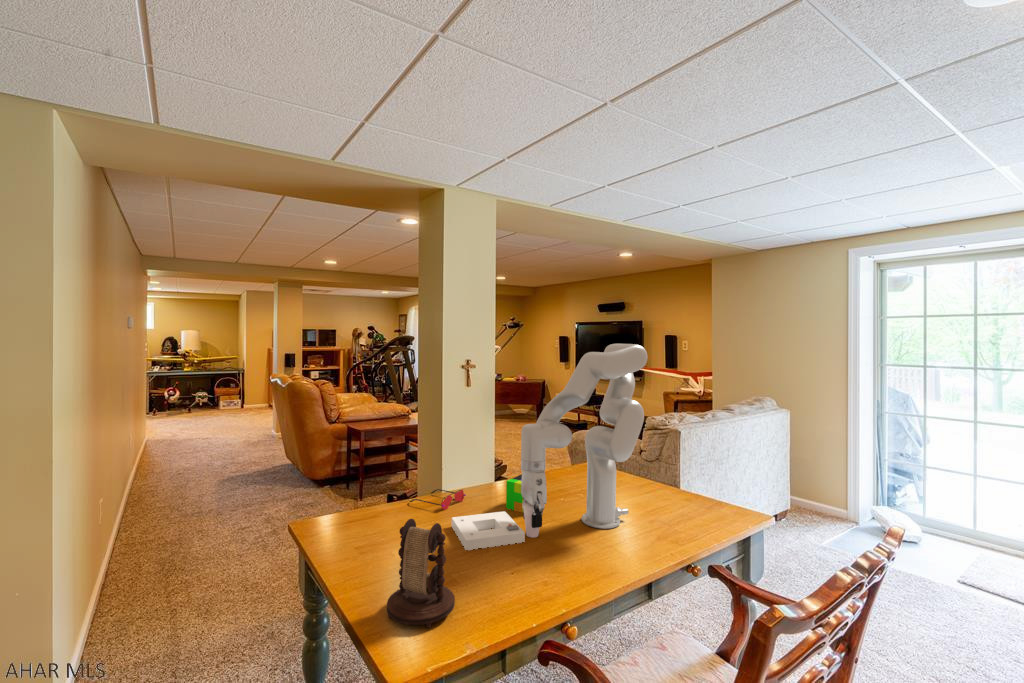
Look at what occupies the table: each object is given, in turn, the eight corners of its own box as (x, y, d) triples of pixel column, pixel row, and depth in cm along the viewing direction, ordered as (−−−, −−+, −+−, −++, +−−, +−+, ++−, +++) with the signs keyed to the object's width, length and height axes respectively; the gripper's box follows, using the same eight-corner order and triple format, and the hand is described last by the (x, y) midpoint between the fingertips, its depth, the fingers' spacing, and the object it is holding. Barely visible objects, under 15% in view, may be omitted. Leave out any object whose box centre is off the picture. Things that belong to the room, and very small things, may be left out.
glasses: (443, 513, 166) (443, 499, 166) (406, 504, 174) (406, 491, 174) (466, 501, 178) (466, 488, 178) (431, 494, 186) (431, 481, 186)
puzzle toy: (544, 506, 174) (544, 478, 173) (530, 515, 165) (530, 486, 165) (520, 501, 179) (521, 474, 179) (506, 509, 170) (506, 480, 170)
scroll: (372, 622, 102) (373, 528, 102) (410, 588, 116) (412, 506, 116) (433, 638, 97) (434, 540, 97) (465, 601, 111) (467, 515, 110)
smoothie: (545, 532, 150) (545, 487, 150) (539, 540, 144) (539, 493, 144) (525, 529, 152) (525, 485, 152) (519, 537, 146) (519, 491, 146)
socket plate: (504, 520, 160) (504, 509, 160) (524, 542, 143) (524, 530, 143) (451, 526, 154) (451, 515, 154) (465, 550, 137) (466, 538, 137)
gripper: (556, 471, 141) (555, 532, 141) (533, 457, 157) (532, 511, 157) (532, 473, 138) (531, 535, 139) (512, 458, 155) (511, 514, 155)
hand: (532, 522), depth 148 cm, fingers closed on smoothie, 6 cm apart
